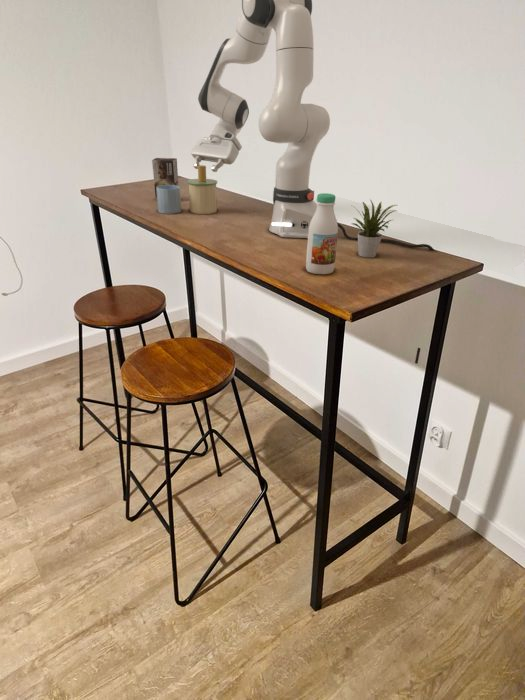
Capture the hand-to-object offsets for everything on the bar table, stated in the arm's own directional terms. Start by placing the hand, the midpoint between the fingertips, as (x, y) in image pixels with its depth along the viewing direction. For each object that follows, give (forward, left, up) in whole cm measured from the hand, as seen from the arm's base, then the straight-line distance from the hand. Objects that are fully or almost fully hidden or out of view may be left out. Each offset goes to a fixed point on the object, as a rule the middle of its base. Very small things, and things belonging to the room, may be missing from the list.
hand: (204, 169), depth 180 cm
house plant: (-66, +37, -15) cm, 78 cm away
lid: (+1, +1, -5) cm, 5 cm away
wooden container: (+1, +1, -15) cm, 15 cm away
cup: (+13, +6, -15) cm, 21 cm away
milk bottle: (-53, +55, -15) cm, 78 cm away
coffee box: (+23, -14, -15) cm, 31 cm away
